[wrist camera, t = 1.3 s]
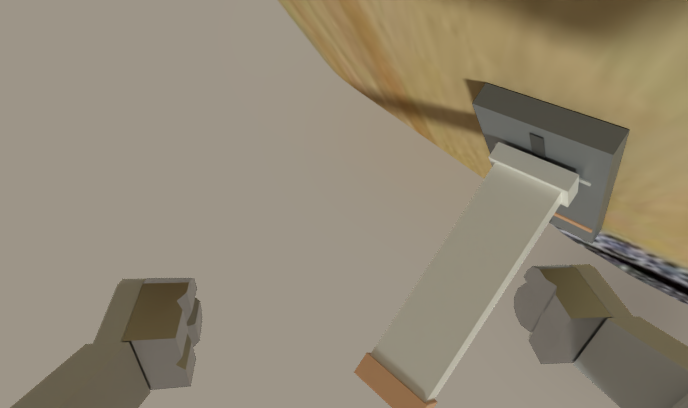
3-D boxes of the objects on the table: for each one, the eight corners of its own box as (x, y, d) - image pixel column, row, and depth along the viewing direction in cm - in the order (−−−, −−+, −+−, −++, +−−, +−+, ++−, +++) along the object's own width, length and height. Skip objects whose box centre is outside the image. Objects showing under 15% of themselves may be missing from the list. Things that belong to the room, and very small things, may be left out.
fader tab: (498, 141, 27) (349, 370, 27) (579, 174, 24) (414, 430, 24) (504, 160, 30) (368, 369, 29) (577, 191, 27) (428, 423, 26)
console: (485, 82, 25) (471, 104, 25) (629, 129, 21) (612, 156, 21) (516, 189, 41) (507, 203, 41) (601, 229, 37) (591, 244, 37)
